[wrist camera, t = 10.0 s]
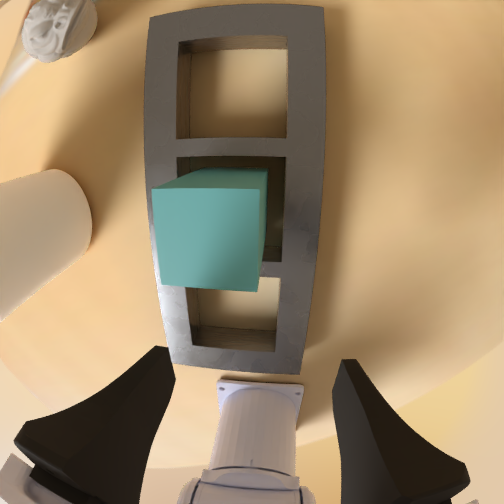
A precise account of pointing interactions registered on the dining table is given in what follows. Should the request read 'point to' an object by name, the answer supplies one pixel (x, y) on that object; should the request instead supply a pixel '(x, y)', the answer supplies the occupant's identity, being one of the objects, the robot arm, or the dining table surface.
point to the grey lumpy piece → (58, 28)
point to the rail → (292, 148)
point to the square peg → (212, 228)
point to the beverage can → (39, 233)
